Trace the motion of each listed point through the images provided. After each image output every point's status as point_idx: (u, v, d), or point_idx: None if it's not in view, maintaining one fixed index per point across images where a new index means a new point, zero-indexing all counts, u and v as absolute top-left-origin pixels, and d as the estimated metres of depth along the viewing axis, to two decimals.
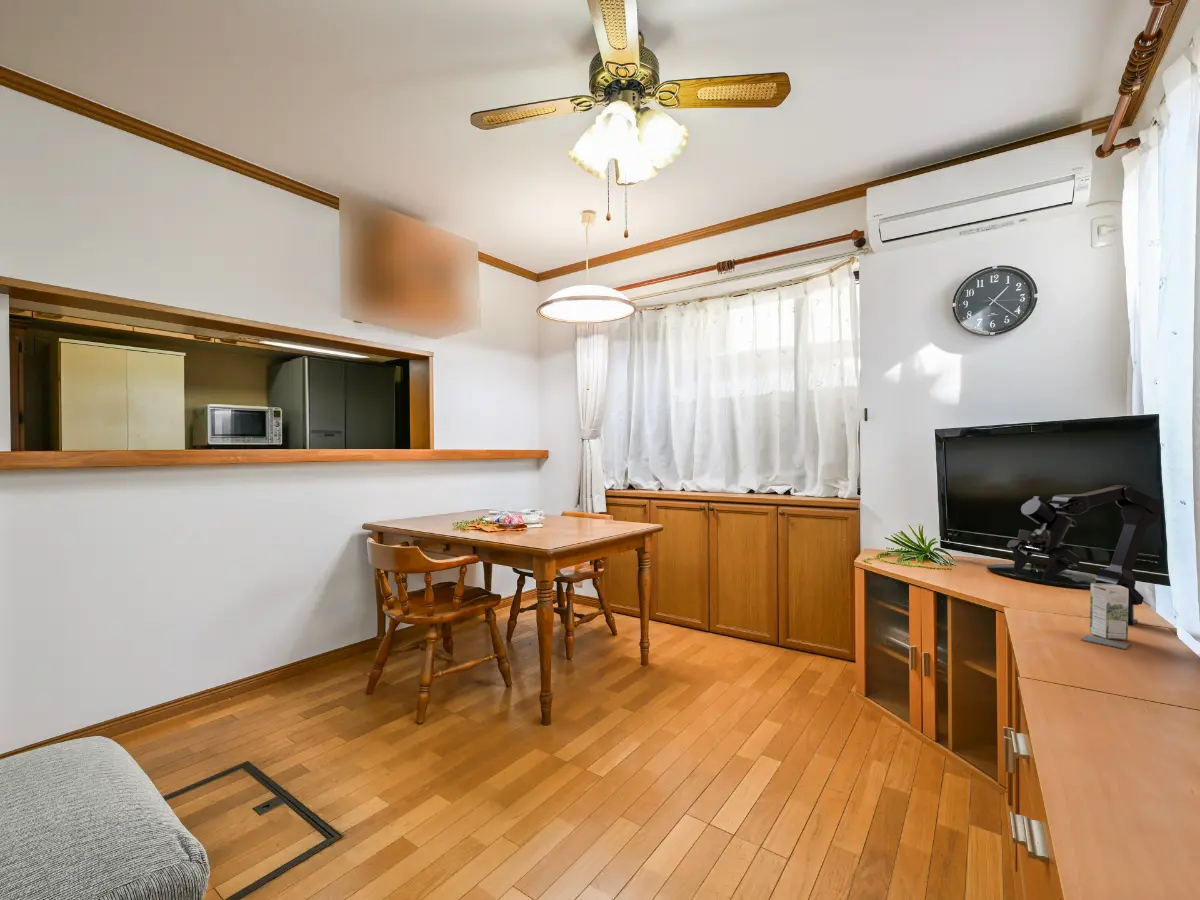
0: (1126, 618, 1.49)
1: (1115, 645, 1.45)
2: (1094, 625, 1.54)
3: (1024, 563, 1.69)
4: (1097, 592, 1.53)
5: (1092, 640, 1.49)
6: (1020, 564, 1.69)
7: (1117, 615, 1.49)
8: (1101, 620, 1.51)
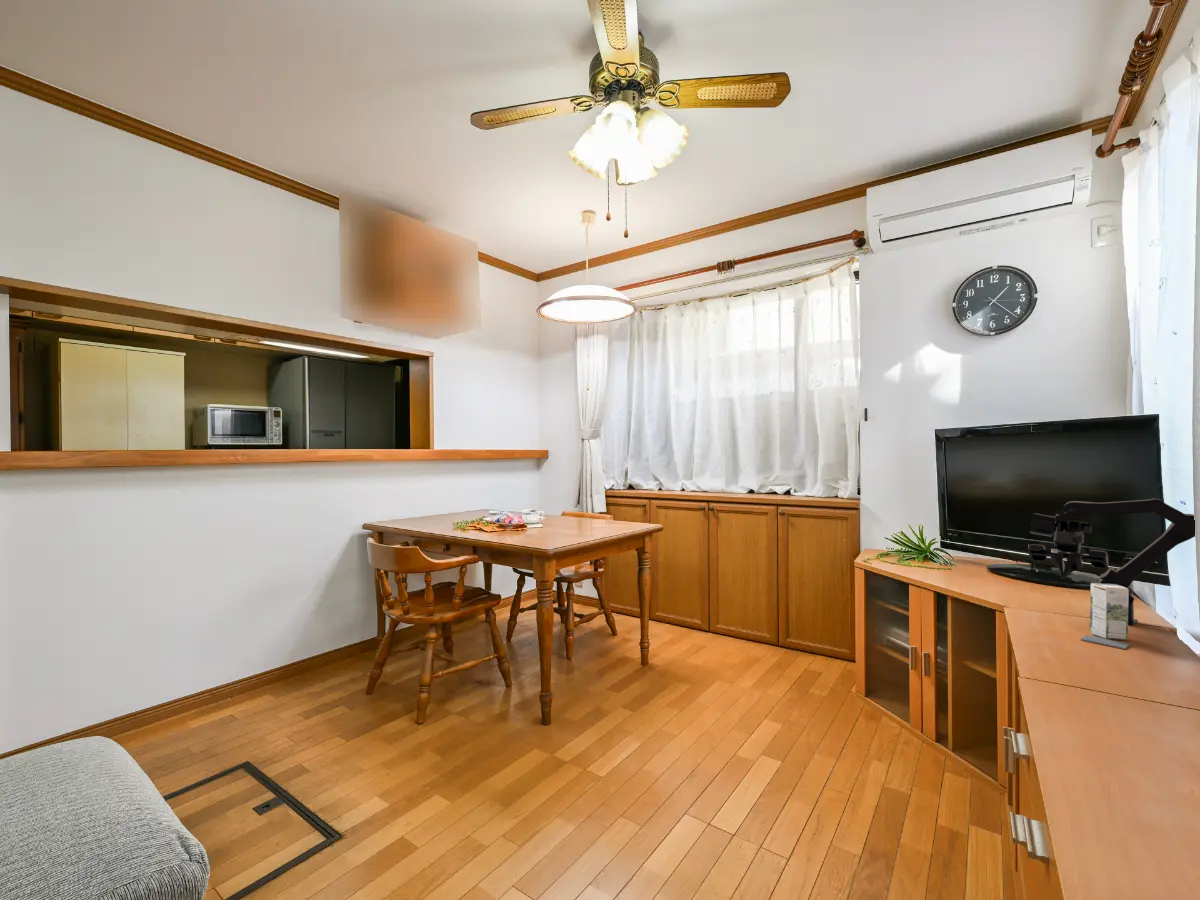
0: (1126, 618, 1.49)
1: (1115, 645, 1.45)
2: (1094, 625, 1.54)
3: (1063, 568, 1.69)
4: (1097, 592, 1.53)
5: (1092, 640, 1.49)
6: (1063, 569, 1.68)
7: (1117, 615, 1.49)
8: (1101, 620, 1.51)
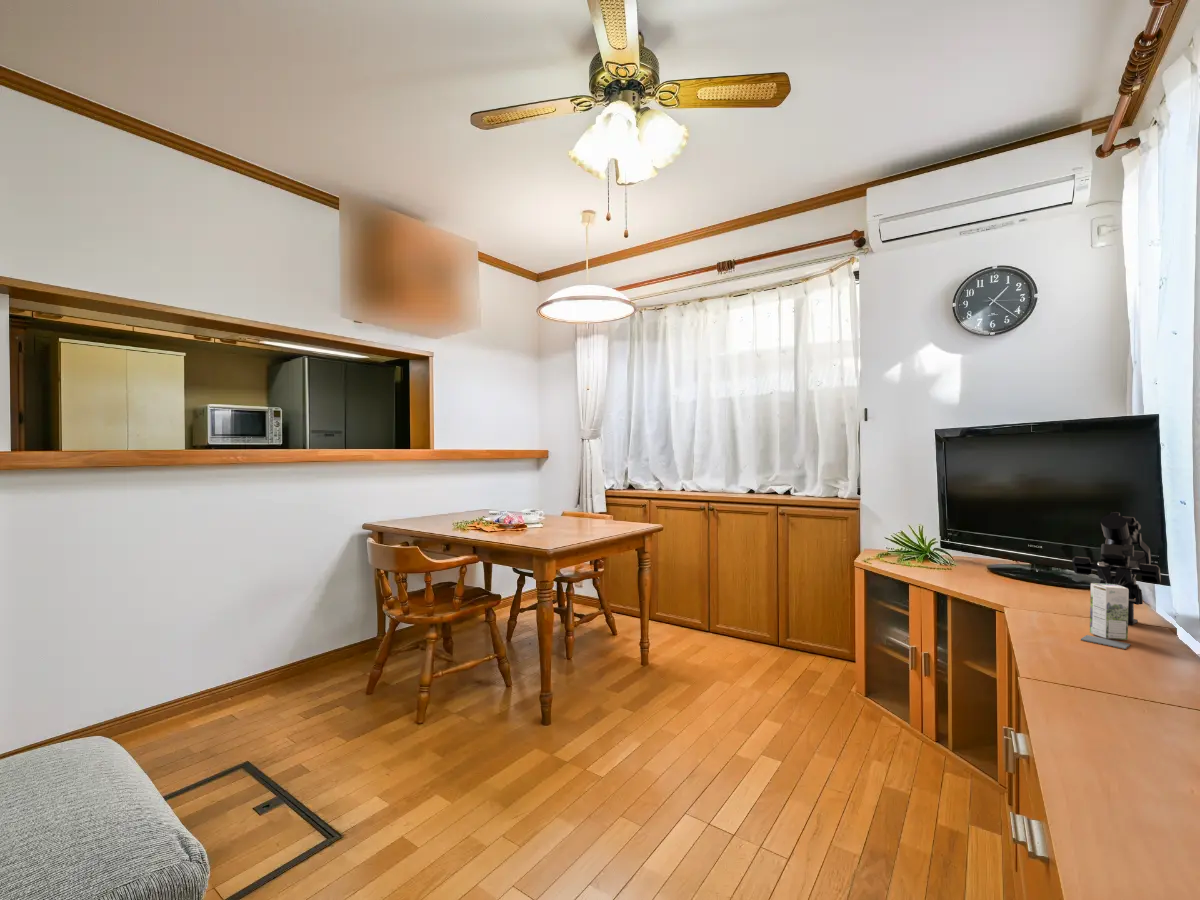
0: (1126, 618, 1.49)
1: (1115, 645, 1.45)
2: (1094, 625, 1.54)
3: None
4: (1097, 592, 1.53)
5: (1092, 640, 1.49)
6: None
7: (1117, 615, 1.49)
8: (1101, 620, 1.51)
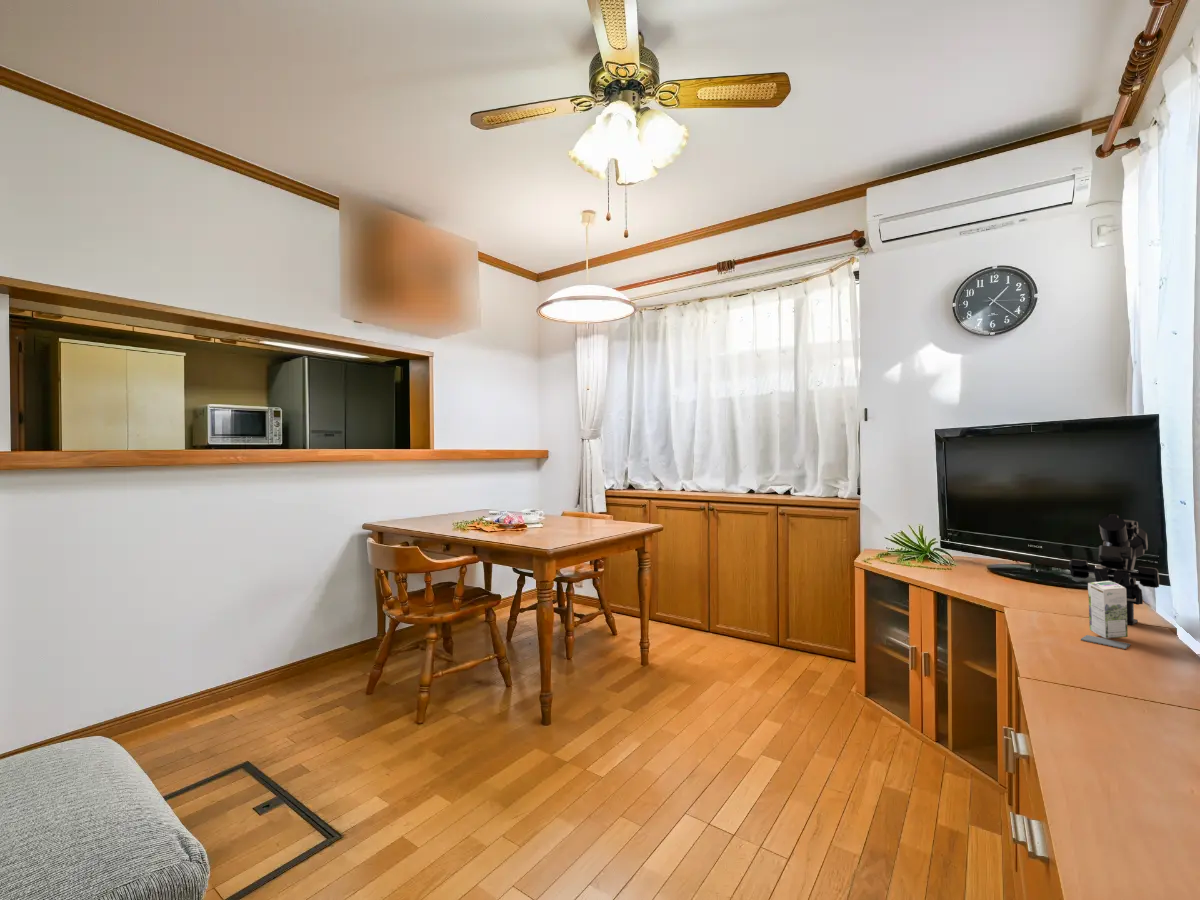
0: (1125, 616, 1.48)
1: (1115, 645, 1.45)
2: (1094, 623, 1.53)
3: None
4: (1095, 593, 1.51)
5: (1092, 640, 1.49)
6: None
7: (1115, 615, 1.49)
8: (1100, 620, 1.51)
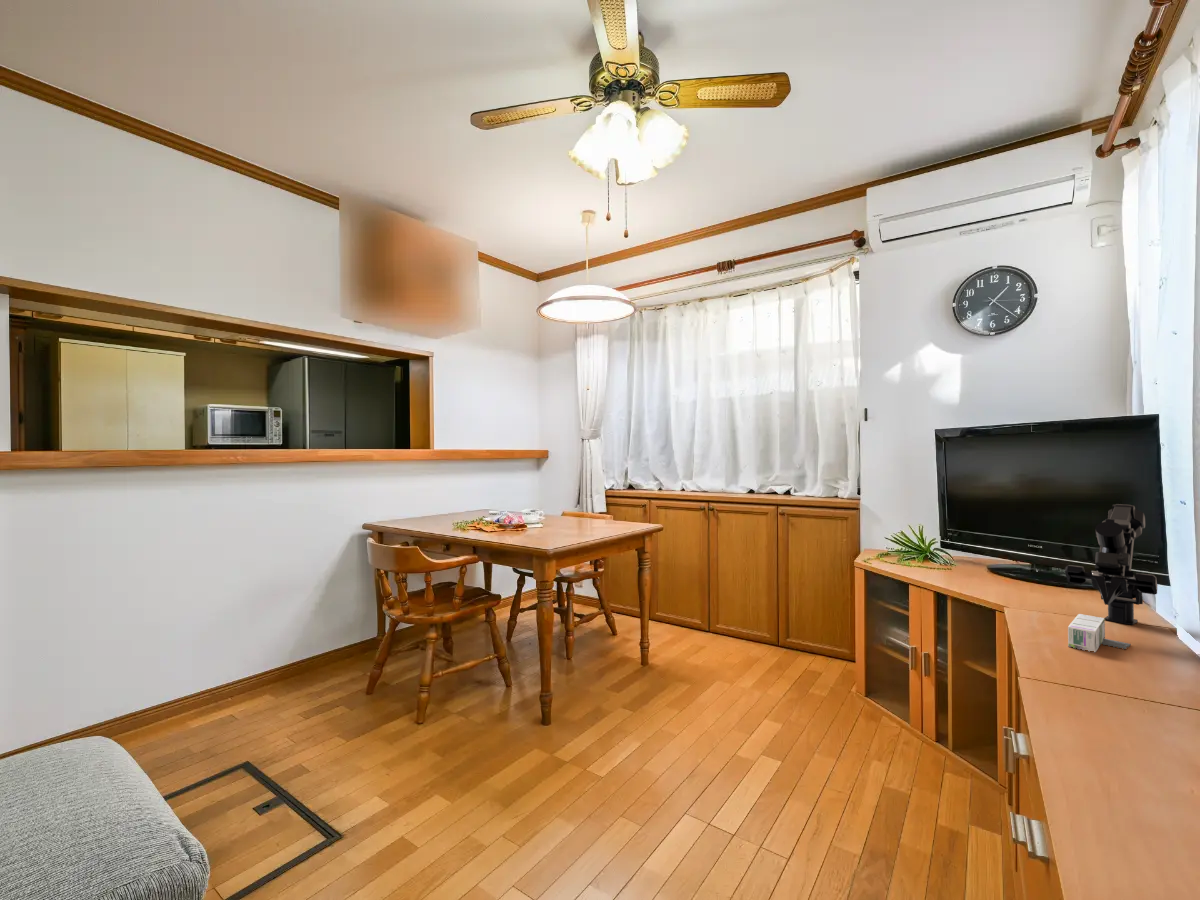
0: (1101, 625, 1.46)
1: (1115, 645, 1.45)
2: None
3: (1106, 593, 1.53)
4: None
5: None
6: (1106, 594, 1.52)
7: (1101, 634, 1.45)
8: None
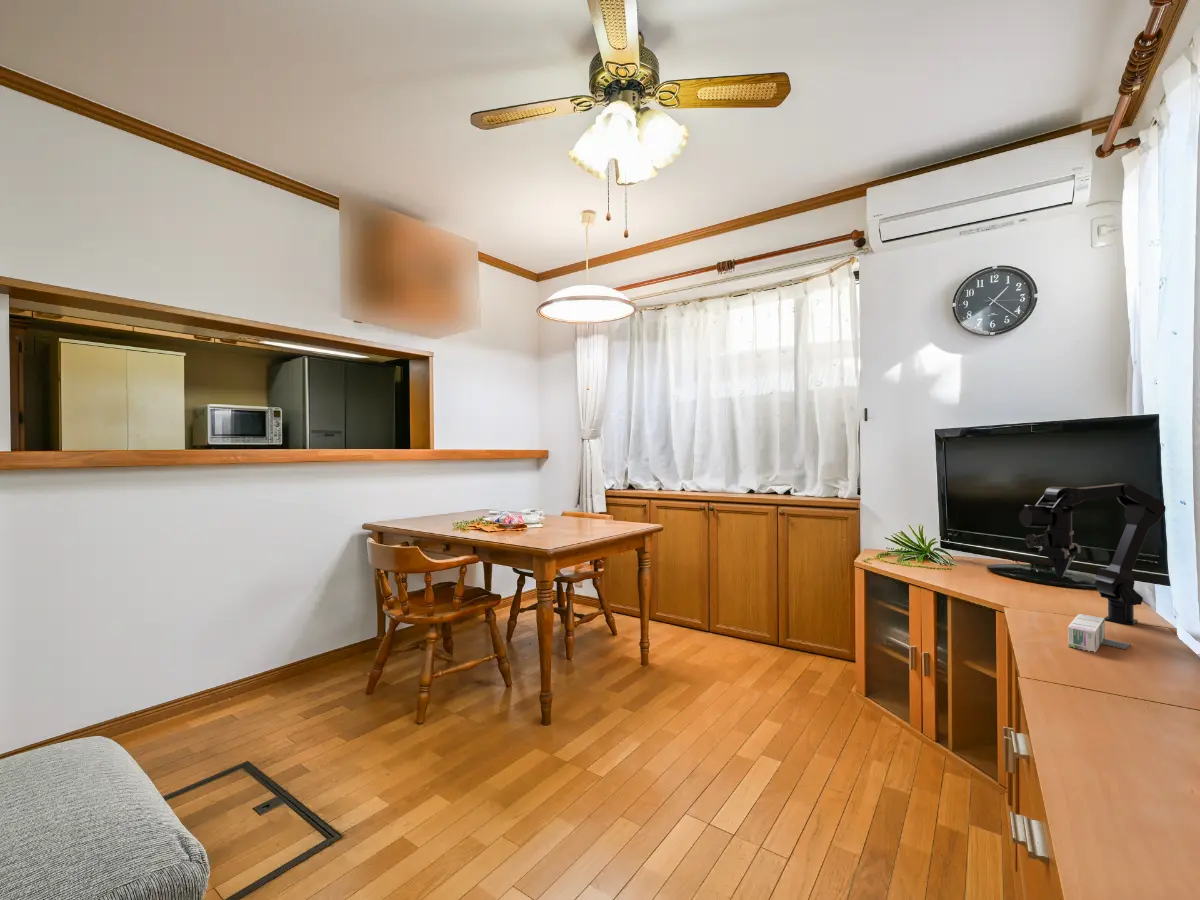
0: (1101, 625, 1.46)
1: (1115, 645, 1.45)
2: None
3: None
4: None
5: None
6: None
7: (1101, 634, 1.45)
8: None
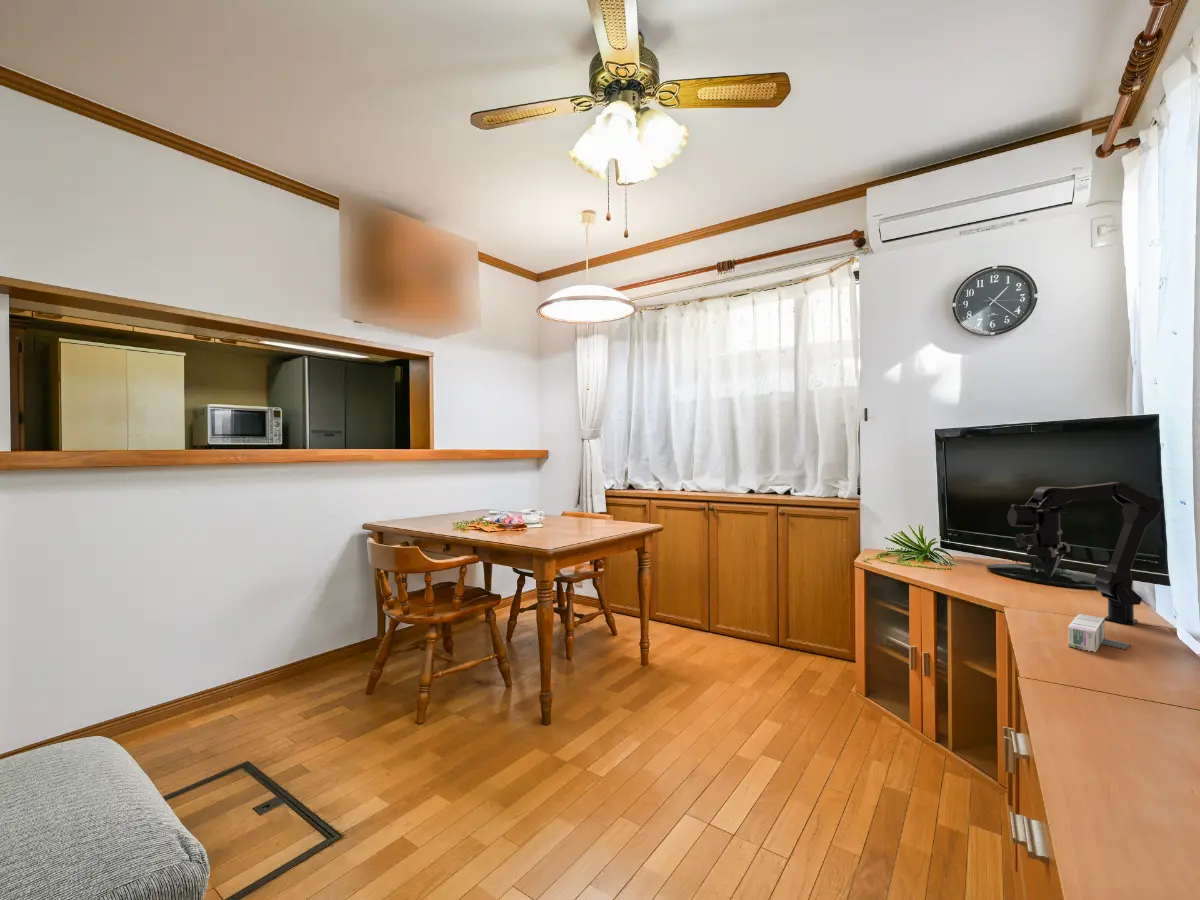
0: (1101, 625, 1.46)
1: (1115, 645, 1.45)
2: None
3: None
4: None
5: None
6: None
7: (1101, 634, 1.45)
8: None
